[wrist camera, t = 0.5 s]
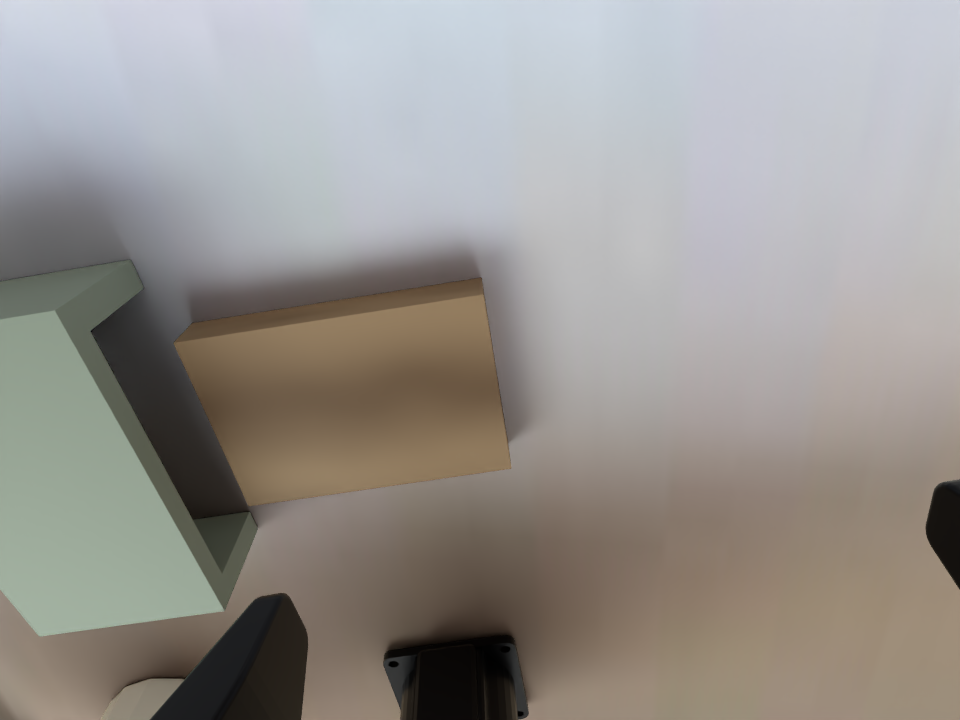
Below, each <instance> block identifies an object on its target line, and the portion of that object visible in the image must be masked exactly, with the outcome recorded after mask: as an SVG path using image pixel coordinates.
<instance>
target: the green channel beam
mask: <svg viewBox="0 0 960 720" xmlns="http://www.w3.org/2000/svg"><path fill="white" fill-rule="evenodd" d="M143 289H144V287H143V285H142V283H141V281H140V279H139V276H138V274H137V272H136V270H135V268H134V266H133V264H132V262H131V260H125V261H119V262H113V263H107V264H101V265H95V266H89V267H83V268H77V269H71V270H65V271H59V272H53V273H47V274H41V275H35V276H29V277H23V278H17V279H11V280H5V281H0V590H1V591H2V592H3V593H4V595H5V596H6V597H7V598H8V599H9V601H10V602H11V603H12V604H13V605H14V607H15V608H16V609H17V610H18V611H19V613H20V614H21V615H22V616H23V617H24V619H25V620H26V621H27V622H28V623H29V625H30V626H31V627H32V628H33V630H34V631H35V632H36V633H37V634H38V636H39V637H40V636H47V635H54V634H62V633H69V632H76V631H83V630H91V629H98V628H105V627H112V626H120V625H127V624H134V623H141V622H149V621H156V620H163V619H170V618H178V617H185V616H192V615H199V614H207V613H214V612H221V611H225V609H226V606H227V604H228V601H229V599H230V596H231V594H232V591H233V589H234V586H235V584H236V582H237V579H238V577H239V574H240V572H241V569H242V567H243V564H244V562H245V559H246V557H247V554H248V552H249V550H250V547H251V545H252V542H253V540H254V537H255V535H256V532H257V530H258V528H257V526H256V524H255V522H254V520H253V518H252V516H251V513H250V512H243V513H236V514H229V515H222V516H216V517H209V518H202V519H195V520H192V518H191V516H190V514H189V512H188V510H187V509H186V507H185V505H184V503H183V501H182V499H181V497H180V496H179V494H178V492H177V490H176V488H175V486H174V485H173V483H172V481H171V479H170V477H169V475H168V474H167V472H166V470H165V468H164V466H163V464H162V462H161V461H160V459H159V457H158V455H157V453H156V451H155V450H154V448H153V446H152V444H151V442H150V440H149V439H148V437H147V435H146V433H145V431H144V429H143V427H142V426H141V424H140V422H139V420H138V418H137V416H136V415H135V413H134V411H133V409H132V407H131V405H130V403H129V402H128V400H127V398H126V396H125V394H124V392H123V391H122V389H121V387H120V385H119V383H118V381H117V380H116V378H115V376H114V374H113V372H112V370H111V368H110V367H109V365H108V363H107V361H106V359H105V357H104V356H103V354H102V352H101V350H100V348H99V346H98V345H97V343H96V341H95V339H94V337H93V335H92V333H91V332H90V331H91V330H92V329H93V328H95V327H96V326H97V325H98V324H100V323H101V322H102V321H103V320H105V319H106V318H107V317H109V316H110V315H111V314H112V313H114V312H115V311H116V310H117V309H119V308H120V307H121V306H122V305H124V304H125V303H126V302H127V301H129V300H130V299H131V298H132V297H134V296H135V295H136V294H138V293H139V292H140V291H141V290H143Z"/></svg>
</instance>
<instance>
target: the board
mask: <svg viewBox="0 0 960 720" xmlns="http://www.w3.org/2000/svg"><path fill="white" fill-rule="evenodd" d="M173 344H174V346H175V348H176V350H177V352H178V355H179V357H180V359H181V361H182V363H183V365H184V368H185V370H186V372H187V374H188V376H189V378H190V381H191V383H192V385H193V387H194V389H195V391H196V394H197V396H198V398H199V400H200V402H201V404H202V407H203V409H204V411H205V413H206V415H207V417H208V420H209V422H210V424H211V426H212V428H213V430H214V433H215V435H216V437H217V439H218V441H219V443H220V446H221V448H222V450H223V452H224V454H225V456H226V459H227V461H228V463H229V465H230V467H231V469H232V472H233V474H234V476H235V478H236V480H237V482H238V485H239V487H240V489H241V491H242V493H243V495H244V498H245V500H246V502H247V504H248V506H255V505H262V504H269V503H276V502H283V501H290V500H297V499H304V498H310V497H317V496H324V495H331V494H338V493H345V492H352V491H359V490H366V489H373V488H380V487H387V486H394V485H401V484H408V483H415V482H422V481H428V480H435V479H442V478H449V477H456V476H463V475H470V474H477V473H484V472H491V471H498V470H505V469H511V462H510V454H509V447H508V440H507V434H506V427H505V421H504V415H503V409H502V402H501V396H500V390H499V384H498V378H497V371H496V365H495V359H494V353H493V347H492V340H491V334H490V328H489V322H488V315H487V309H486V303H485V297H484V291H483V284H482V278H475V279H469V280H463V281H456V282H450V283H443V284H437V285H431V286H424V287H418V288H412V289H405V290H399V291H393V292H386V293H380V294H374V295H367V296H361V297H354V298H348V299H342V300H335V301H329V302H323V303H316V304H310V305H304V306H297V307H291V308H285V309H278V310H272V311H266V312H259V313H253V314H246V315H240V316H234V317H227V318H221V319H215V320H208V321H202V322H196V323H192V324H191V325H190V326H189V327H188V328H187V329H186V330H185V331H184V332H183V333H182V334H181V335H180V336H179V337H178V339H177V340H176V341H175V342H174V343H173Z"/></svg>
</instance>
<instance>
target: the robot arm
mask: <svg viewBox="0 0 960 720" xmlns="http://www.w3.org/2000/svg"><path fill="white" fill-rule="evenodd" d="M926 535H927V538H928V541H929V543H930V545H931V547H932V548H933V550H934V551H935V553H936V554H937V556H938V557H939V559H940V560H941V562H942V564H943V565H944V567H945V568H946V570H947V571H948V573H949V574H950V576H951V577H952V579H953V580H954V582H955V583H956V585H957V586H958V588H959V589H960V479H959V480H953V481H947V482H942V483H940V484H938V485H937V486H936V488H935V489H934V492H933V496H932V501H931V505H930V509H929V513H928V518H927V522H926ZM307 651H308V637H307V632H306V629H305V626H304V624H303V622H302V620H301V618H300V616H299V614H298V612H297V610H296V608H295V606H294V604H293V602H292V600H291V599H290V597H289V596H288V595H287V594H285V593H278V594H272V595H266V596H261V597H259V598H257V599H255V600H254V601H253V602H252V603H251V604H250V605H249V606H248V608H247V609H246V610H245V611H244V612H243V613H242V614H241V616H240V617H239V618H238V619H237V620H236V621H235V622H234V624H233V625H232V626H231V627H230V628H229V629H228V630H227V632H226V633H225V634H224V635H223V636H222V637H221V638H220V640H219V641H218V642H217V643H216V644H215V645H214V646H213V648H212V649H211V650H210V651H209V652H208V653H207V655H206V656H205V657H204V658H203V659H202V660H201V661H200V663H199V664H198V665H197V666H196V667H195V668H194V669H193V671H192V672H191V673H190V674H189V675H188V676H187V677H186V679H185V680H184V681H183V682H182V683H181V684H180V685H179V687H178V688H177V689H176V690H175V691H174V692H173V693H172V695H171V696H170V697H169V698H168V699H167V700H166V701H165V703H164V704H163V705H162V706H161V707H160V708H159V709H158V711H157V712H156V713H155V714H154V715H153V716H152V717H151V719H150V720H301V715H302V704H303V694H304V683H305V673H306V662H307ZM383 665H384V668H385V671H386V673H387V676H388V678H389V681H390V684H391V686H392V689H393V691H394V694H395V696H396V699H397V702H398V704H399V707H400V709H401V717H400V720H518V719H523V718H526V717H527V716H528V714H529V712H528V704H527V699H526V694H525V689H524V684H523V679H522V674H521V669H520V664H519V659H518V654H517V649H516V644H515V640H514V638H513V637H511V636H508V635H503V636H496V637H488V638H481V639H473V640H466V641H458V642H451V643H443V644H436V645H428V646H421V647H413V648H406V649H398V650H391V651H388V652H387V653H385V655H384V662H383Z"/></svg>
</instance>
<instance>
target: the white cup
mask: <svg viewBox="0 0 960 720" xmlns="http://www.w3.org/2000/svg"><path fill="white" fill-rule="evenodd" d="M184 680H185V679H176V678H162V679H148V680H145V681H141V682H138V683H135V684H132V685H129V686H126V687H125V688H124V689H123V690H122V691H121V692H120V693H119V694H118V695H117V696H116V697H115V698H114V699H113V700H112V701H111V702H110V704H109V706H108V707H107V709H106V711H105V713H104V714H103V716H102V718H101V720H150V719H151V717H152V716H153V715H154V714H155V713H156V712H157V711H158V709H159V708H160V707H161V706H162V705H163V704H164V703H165V701H166V700H167V699H168V698H169V697H170V696H171V695H172V693H173V692H174V691H175V690H176V689H177V688H178V687H179V685H180V684H181V683H182V682H183V681H184Z"/></svg>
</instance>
